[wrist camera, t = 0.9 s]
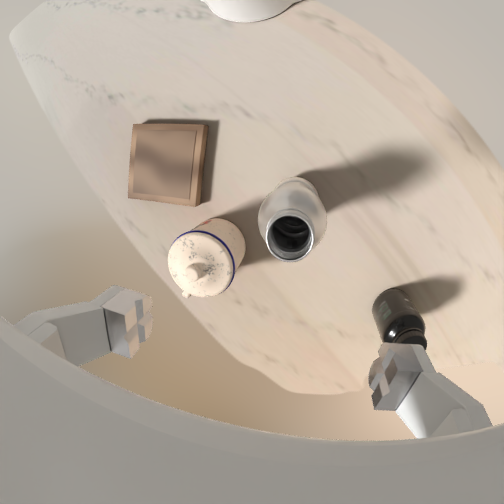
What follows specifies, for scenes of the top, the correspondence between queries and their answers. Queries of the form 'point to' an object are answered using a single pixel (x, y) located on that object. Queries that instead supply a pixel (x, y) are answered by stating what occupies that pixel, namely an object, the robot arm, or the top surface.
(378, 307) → the supplement bottle
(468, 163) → the top surface
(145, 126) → the display stand
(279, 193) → the plastic bottle
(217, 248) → the teacup with lid
